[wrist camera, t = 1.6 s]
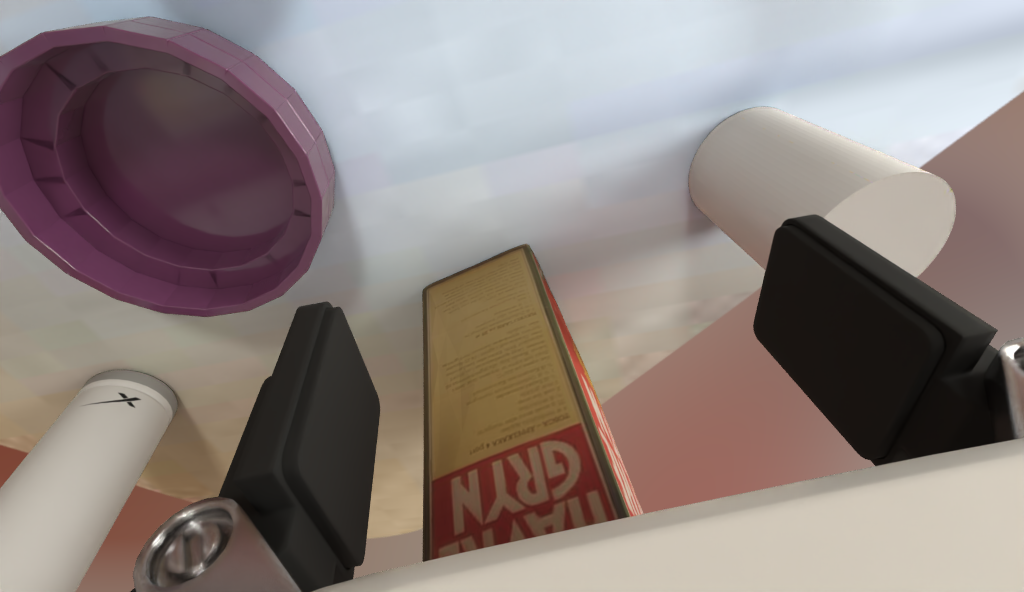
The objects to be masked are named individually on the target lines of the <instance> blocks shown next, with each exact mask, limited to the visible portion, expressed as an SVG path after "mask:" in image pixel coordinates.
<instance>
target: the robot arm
mask: <svg viewBox="0 0 1024 592" xmlns="http://www.w3.org/2000/svg"><path fill="white" fill-rule="evenodd" d="M753 327H754V333H755V335H756V337H757V339H758V340H759V341H760V343H762V345H763V346H764V347H765V348H766V349H767V350H768V352H769V353H770V354H771V355H772V356H773V357H774V358H775V360H776V361H777V362H778V363H779V364H780V365H781V366H782V368H783V369H784V370H785V371H786V372H787V373H788V374H789V376H790V377H791V378H792V379H793V380H794V381H795V382H796V383H797V384H798V386H799V387H800V388H801V389H802V390H803V392H804V393H805V394H806V395H807V396H808V397H809V398H810V399H811V401H812V402H813V403H814V404H815V405H816V406H817V407H818V409H819V410H820V411H821V412H822V413H823V414H824V415H825V416H826V418H827V419H828V420H829V421H830V422H831V423H832V425H833V426H834V427H835V428H836V429H837V430H838V431H839V433H840V434H841V435H842V436H843V437H844V438H845V439H846V440H847V442H848V443H849V444H850V445H851V446H852V447H853V448H854V450H855V451H856V452H857V453H858V454H859V455H860V456H861V457H863V458H865V459H868V460H871V461H872V463H873V464H874V465H875V467H870V468H865V469H860V470H855V471H850V472H845V473H840V474H835V475H830V476H825V477H820V478H815V479H811V480H805V481H800V482H796V483H791V484H786V485H781V486H777V487H771V488H767V489H762V490H757V491H752V492H747V493H742V494H738V495H733V496H728V497H723V498H718V499H714V500H709V501H704V502H699V503H694V504H690V505H685V506H680V507H676V508H670V509H666V510H661V511H656V512H651V513H646V514H642V515H637V516H632V517H627V518H622V519H618V520H613V521H608V522H604V523H599V524H594V525H590V526H585V527H580V528H576V529H571V530H566V531H561V532H557V533H552V534H547V535H543V536H538V537H533V538H529V539H524V540H519V541H515V542H510V543H505V544H501V545H496V546H491V547H487V548H482V549H477V550H472V551H468V552H464V553H459V554H455V555H451V556H446V557H442V558H438V559H434V560H429V561H425V562H421V563H416V564H412V565H408V566H404V567H399V568H395V569H390V570H386V571H382V572H377V573H373V574H370V575H366V576H363V577H359V578H355V579H353V575H354V567H355V566H360V565H362V563H363V560H364V555H365V547H366V538H367V529H368V519H369V510H370V501H371V491H372V482H373V473H374V463H375V454H376V444H377V435H378V426H379V416H380V403H379V398H378V395H377V392H376V390H375V388H374V385H373V383H372V380H371V378H370V376H369V373H368V371H367V368H366V366H365V363H364V361H363V359H362V356H361V354H360V351H359V349H358V347H357V344H356V342H355V339H354V337H353V335H352V332H351V330H350V327H349V325H348V322H347V320H346V318H345V315H344V313H343V311H342V309H341V308H340V307H334V308H333V307H332V305H331V304H330V303H329V302H323V303H317V304H312V305H306V306H301V307H298V309H297V311H296V313H295V316H294V319H293V321H292V324H291V327H290V329H289V332H288V334H287V337H286V340H285V342H284V345H283V348H282V350H281V353H280V356H279V358H278V361H277V363H276V366H275V369H274V371H273V374H272V376H270V377H268V378H267V379H266V380H265V381H264V383H263V385H262V387H261V389H260V392H259V394H258V397H257V399H256V402H255V404H254V407H253V410H252V412H251V415H250V417H249V420H248V422H247V425H246V427H245V430H244V432H243V435H242V437H241V440H240V443H239V445H238V448H237V450H236V453H235V455H234V458H233V460H232V463H231V465H230V468H229V471H228V473H227V476H226V478H225V481H224V483H223V486H222V488H221V491H220V493H219V496H218V497H215V498H207V499H204V500H201V501H198V502H196V503H193V504H191V505H189V506H187V507H185V508H184V509H182V510H180V511H179V512H177V513H175V514H174V515H173V516H172V517H170V518H169V519H168V520H167V521H166V522H165V523H164V524H162V525H161V526H160V527H159V528H158V529H157V530H156V531H155V532H154V534H153V535H152V536H151V537H150V538H149V539H148V541H147V542H146V543H145V545H144V547H143V549H142V550H141V552H140V554H139V556H138V558H137V560H136V564H135V568H134V572H133V579H134V587H135V588H134V589H133V590H132V591H131V592H1024V338H1018V339H1014V340H1011V341H1008V342H1006V343H1005V344H1004V345H1003V346H1002V347H1001V348H1000V350H999V351H998V350H996V349H995V348H993V347H992V346H990V345H989V343H990V342H991V340H992V339H993V337H994V335H995V334H996V332H997V329H995V328H994V327H992V326H991V325H989V324H987V323H986V322H984V321H983V320H981V319H980V318H978V317H976V316H975V315H973V314H972V313H970V312H969V311H967V310H966V309H964V308H963V307H961V306H959V305H958V304H956V303H955V302H953V301H952V300H950V299H949V298H947V297H945V296H944V295H942V294H941V293H939V292H938V291H936V290H934V289H933V288H931V287H930V286H928V285H927V284H925V283H924V282H922V281H920V280H919V279H917V278H916V277H914V276H913V275H911V274H910V273H908V272H907V271H905V270H903V269H902V268H900V267H899V266H897V265H896V264H894V263H893V262H891V261H889V260H888V259H886V258H885V257H883V256H882V255H880V254H879V253H877V252H875V251H874V250H872V249H871V248H869V247H868V246H866V245H865V244H863V243H861V242H860V241H858V240H857V239H855V238H854V237H852V236H851V235H849V234H847V233H846V232H844V231H843V230H841V229H840V228H838V227H837V226H835V225H833V224H832V223H830V222H829V221H827V220H826V219H824V218H823V217H821V216H819V215H816V214H813V215H806V216H801V217H795V218H790V219H787V220H785V221H784V222H783V223H782V225H781V227H779V228H777V230H776V231H775V233H774V237H773V241H772V245H771V250H770V254H769V258H768V263H767V267H766V271H765V276H764V280H763V284H762V289H761V293H760V298H759V302H758V306H757V311H756V315H755V319H754V325H753Z"/></svg>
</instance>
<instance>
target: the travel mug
mask: <svg viewBox="0 0 1024 592" xmlns="http://www.w3.org/2000/svg"><path fill="white" fill-rule="evenodd" d="M177 405H178V403H177V399H176V396H175V395H174V393H173V391H172V390H171V389H170V388H169V387H168V386H167V385H165V384H164V383H163V382H161V381H160V380H158V379H156V378H154V377H152V376H149V375H147V374H144V373H140V372H136V371H129V370H112V371H107V372H103V373H99V374H97V375H95V376H93V377H92V378H91V379H89V380H88V381H87V383H86V384H85V385H84V386H83V388H82V389H81V390H80V391H79V393H78V394H77V396H75V397H74V399H73V400H72V401H71V402H70V404H69V405H68V406H67V407H66V408H65V410H64V411H63V412H62V413H61V415H60V416H59V417H58V418H57V419H56V421H55V422H54V423H53V424H52V426H51V427H50V428H49V429H48V431H47V432H46V433H45V434H44V435H43V437H42V438H41V439H40V440H39V442H38V443H37V444H36V445H35V447H34V448H33V449H32V450H31V451H30V453H29V454H28V455H27V456H26V458H25V459H24V460H23V461H22V463H21V464H20V465H19V466H18V467H17V469H16V470H15V471H14V472H13V474H12V475H11V476H10V477H9V479H8V480H7V481H6V482H5V483H4V485H3V486H2V487H1V488H0V592H76V590H77V588H78V586H79V585H80V583H81V581H82V579H83V577H84V576H85V574H86V572H87V570H88V568H89V567H90V565H91V563H92V561H93V560H94V558H95V555H96V554H97V552H98V551H99V549H100V547H101V545H102V543H103V542H104V540H105V538H106V536H107V534H108V533H109V531H110V529H111V527H112V526H113V524H114V522H115V520H116V518H117V517H118V515H119V513H120V511H121V510H122V508H123V506H124V504H125V502H126V501H127V499H128V497H129V495H130V493H131V492H132V490H133V488H134V486H135V485H136V483H137V481H138V479H139V477H140V476H141V474H142V472H143V470H144V469H145V467H146V465H147V463H148V461H149V460H150V458H151V456H152V454H153V452H154V451H155V449H156V447H157V445H158V444H159V442H160V440H161V438H162V436H163V435H164V433H165V431H166V429H167V427H168V425H169V424H170V422H171V420H172V419H173V417H174V415H175V413H176V411H177Z"/></svg>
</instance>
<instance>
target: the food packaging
mask: <svg viewBox="0 0 1024 592" xmlns="http://www.w3.org/2000/svg"><path fill="white" fill-rule="evenodd" d="M422 302H423V354H424V484H423V562H425V561H429V560H434V559H438V558H442V557H446V556H451V555H455V554H459V553H464V552H468V551H472V550H477V549H482V548H487V547H491V546H496V545H501V544H505V543H510V542H515V541H519V540H524V539H529V538H533V537H538V536H543V535H547V534H552V533H557V532H561V531H566V530H571V529H576V528H580V527H585V526H590V525H594V524H599V523H604V522H608V521H613V520H618V519H622V518H627V517H632V516H637V515H642V514H643V512H642V509H641V507H640V504H639V502H638V499H637V497H636V494H635V492H634V489H633V487H632V484H631V482H630V479H629V477H628V474H627V472H626V469H625V467H624V464H623V462H622V459H621V457H620V454H619V452H618V449H617V446H616V444H615V441H614V439H613V436H612V434H611V431H610V429H609V426H608V423H607V421H606V418H605V415H604V413H603V410H602V407H601V405H600V402H599V400H598V398H597V395H596V393H595V390H594V388H593V385H592V383H591V380H590V378H589V375H588V373H587V370H586V368H585V366H584V363H583V361H582V359H581V356H580V354H579V352H578V350H577V348H576V346H575V344H574V342H573V339H572V337H571V335H570V333H569V330H568V328H567V326H566V324H565V321H564V319H563V316H562V314H561V312H560V310H559V307H558V305H557V303H556V301H555V299H554V297H553V295H552V293H551V291H550V288H549V286H548V284H547V282H546V279H545V277H544V275H543V272H542V270H541V268H540V265H539V263H538V261H537V259H536V257H535V255H534V253H533V251H532V250H531V248H530V246H529V245H527V244H524V245H521V246H518V247H516V248H513V249H510V250H508V251H505V252H503V253H501V254H499V255H496V256H494V257H492V258H490V259H488V260H486V261H483V262H481V263H479V264H477V265H474V266H472V267H470V268H467V269H465V270H462V271H460V272H458V273H455V274H453V275H451V276H449V277H446V278H444V279H442V280H439V281H437V282H435V283H433V284H431V285H429V286H427V287H426V288H425V289H424V290H423V295H422Z"/></svg>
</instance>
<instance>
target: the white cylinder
mask: <svg viewBox="0 0 1024 592" xmlns="http://www.w3.org/2000/svg"><path fill="white" fill-rule="evenodd" d="M689 191H690V195H691V198H692V200H693V202H694V204H695V205H696V207H697V208H698V209H699V210H700V211H701V212H702V213H704V214H705V215H706V216H707V217H708V218H709V219H710V220H711V221H712V222H713V223H714V224H716V225H717V226H718V227H719V228H720V229H721V230H722V231H723V232H724V233H725V234H726V235H728V236H729V237H730V238H731V239H732V240H733V241H734V242H735V243H736V244H737V245H739V246H740V247H741V248H742V249H743V250H744V251H745V252H746V253H747V254H748V255H749V256H751V257H752V258H753V259H754V260H755V261H756V262H757V263H758V264H759V265H760V266H761V267H763V268H764V269H765V270H766V267H767V263H768V258H769V254H770V250H771V245H772V241H773V237H774V233H775V231H776V230H777V228H779V227H781V225H782V223H783V222H784V221H785V220H787V219H790V218H795V217H801V216H806V215H813V214H816V215H819V216H821V217H823V218H824V219H826V220H827V221H829V222H830V223H832V224H833V225H835V226H837V227H838V228H840V229H841V230H843V231H844V232H846V233H847V234H849V235H851V236H852V237H854V238H855V239H857V240H858V241H860V242H861V243H863V244H865V245H866V246H868V247H869V248H871V249H872V250H874V251H875V252H877V253H879V254H880V255H882V256H883V257H885V258H886V259H888V260H889V261H891V262H893V263H894V264H896V265H897V266H899V267H900V268H902V269H903V270H905V271H907V272H908V273H910V274H911V275H913V276H914V277H916V278H917V277H918V276H919V275H920V274H921V273H922V272H923V271H924V270H925V269H926V268H927V267H928V266H929V265H930V263H931V262H932V261H933V260H934V258H935V257H936V256H937V255H938V253H939V252H940V250H941V249H942V247H943V246H944V244H945V242H946V240H947V238H948V236H949V234H950V232H951V229H952V227H953V223H954V220H955V213H956V201H955V196H954V194H953V191H952V189H951V188H950V186H949V185H948V184H947V183H946V182H945V181H944V180H943V179H941V178H940V177H938V176H936V175H933V174H931V173H928V172H926V171H924V170H921V169H919V168H917V167H914V166H912V165H910V164H907V163H905V162H902V161H900V160H898V159H895V158H893V157H891V156H888V155H886V154H883V153H881V152H879V151H876V150H874V149H872V148H869V147H867V146H864V145H862V144H860V143H857V142H855V141H853V140H850V139H848V138H845V137H843V136H841V135H838V134H836V133H834V132H831V131H829V130H827V129H824V128H822V127H819V126H817V125H815V124H812V123H810V122H808V121H805V120H803V119H800V118H798V117H796V116H793V115H791V114H789V113H786V112H784V111H781V110H779V109H776V108H772V107H755V108H750V109H747V110H744V111H741V112H739V113H736V114H734V115H732V116H731V117H729V118H727V119H726V120H724V121H723V122H722V123H720V124H719V125H718V126H717V127H716V128H715V129H714V130H713V131H712V132H711V133H710V134H709V135H708V136H707V137H706V138H705V140H704V141H703V142H702V144H701V145H700V147H699V149H698V150H697V152H696V154H695V156H694V159H693V161H692V164H691V168H690V172H689Z"/></svg>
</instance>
